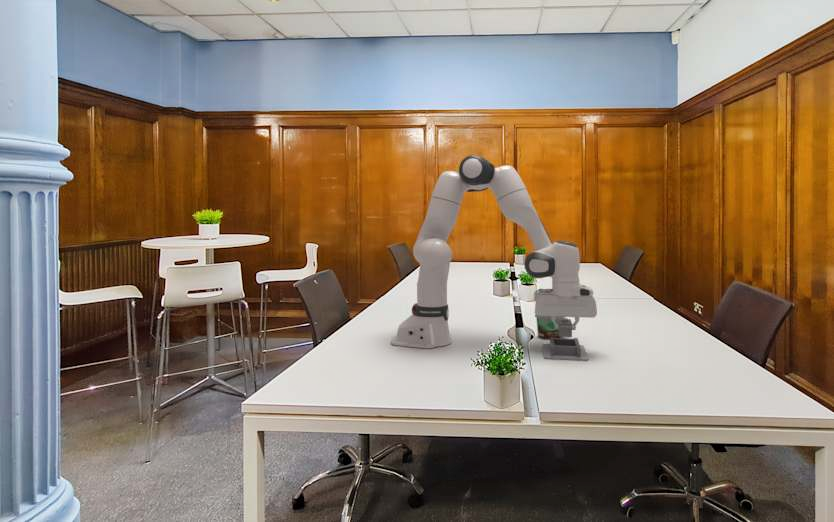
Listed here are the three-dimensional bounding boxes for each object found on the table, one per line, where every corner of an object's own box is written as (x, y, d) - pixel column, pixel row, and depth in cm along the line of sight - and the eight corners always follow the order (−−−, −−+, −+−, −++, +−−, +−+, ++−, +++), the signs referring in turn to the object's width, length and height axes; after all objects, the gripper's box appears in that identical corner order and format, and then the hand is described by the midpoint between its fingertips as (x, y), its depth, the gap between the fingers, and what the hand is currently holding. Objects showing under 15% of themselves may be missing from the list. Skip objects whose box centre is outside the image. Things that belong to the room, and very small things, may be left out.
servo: (559, 337, 173) (559, 322, 172) (558, 330, 182) (558, 316, 181) (572, 338, 172) (572, 322, 172) (570, 331, 181) (570, 316, 180)
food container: (542, 341, 193) (542, 314, 192) (534, 337, 199) (534, 311, 198) (571, 338, 196) (572, 312, 195) (563, 334, 202) (563, 309, 201)
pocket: (543, 358, 171) (544, 348, 171) (542, 345, 187) (543, 335, 187) (588, 361, 168) (588, 350, 168) (583, 347, 184) (583, 337, 184)
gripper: (534, 290, 175) (533, 330, 176) (598, 291, 170) (597, 332, 172) (533, 287, 181) (533, 326, 182) (595, 288, 176) (594, 328, 178)
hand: (564, 329), depth 177 cm, fingers closed on servo, 4 cm apart
